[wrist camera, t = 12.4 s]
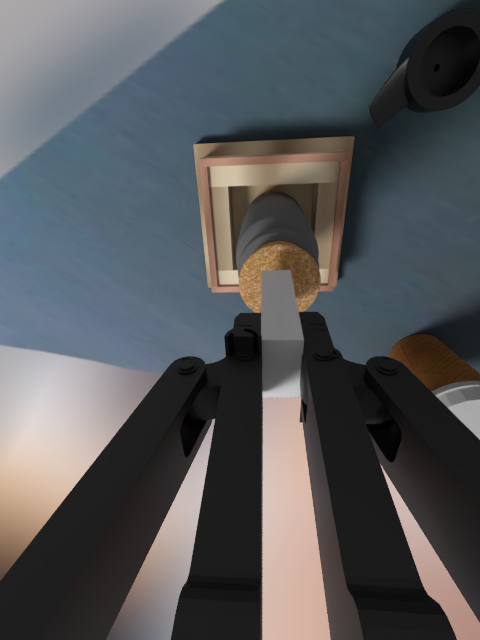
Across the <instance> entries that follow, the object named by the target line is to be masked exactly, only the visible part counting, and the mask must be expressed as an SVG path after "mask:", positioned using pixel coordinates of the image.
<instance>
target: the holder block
mask: <svg viewBox="0 0 480 640" xmlns="http://www.w3.org/2000/svg"><path fill="white" fill-rule="evenodd" d="M354 138H355V136H346V137H326V138H306V139H285V140H265V141H245V142H225V143H204V144H193V146H194V155H195V165H196V175H197V184H198V194H199V203H200V213H201V223H202V232H203V242H204V251H205V261H206V271H207V280H208V288H212V292H240V290H239V277H238V268H237V264H236V249H237V244H238V239H239V235H240V231H241V227H242V223H243V220H244V216H245V213H246V211H247V209H248V207H249V205H250V204H251V203H252V201H253V200H254V199H256V198H257V197H258V196H260V195H262V194H264V193H267V192H271V191H277V192H283V193H286V194H288V195H289V196H291V197H293V198H294V199H295V200H296V201H297V202H298V204H299V205H300V207H301V209H302V211H303V213H304V215H305V217H306V219H307V221H308V223H309V225H310V227H311V229H312V231H313V233H314V235H315V238H316V241H317V244H318V249H319V258H318V261H319V271H320V276H321V284H320V290H319V291H334V286H336V285H337V277H338V269H339V261H340V253H341V244H342V236H343V228H344V220H345V212H346V203H347V195H348V187H349V179H350V171H351V163H352V154H353V146H354Z"/></svg>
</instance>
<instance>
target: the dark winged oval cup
mask: <svg viewBox="0 0 480 640" xmlns="http://www.w3.org/2000/svg"><path fill="white" fill-rule="evenodd" d="M434 66H436V70H435V71H434ZM479 85H480V12H478V11H476V10H473V9H468V8H462V9H456V10H453V11H450V12H448V13H446V14H444V15H442V16H441V17H439V18H438V19H436V20H435V21H433V22H432V23H430V24H429V25H427V26H426V27H424V28H423V29H421V30H420V31H419V32H418V33H417V34H415V35H414V36H413V38H412V39H411V40H410V41H409V42H408V44H407V45H406V47H405V48H404V50H403V52H402V54H401V56H400V58H399V61H398V64H397V67H396V70H395V71H394V72H393V74H392V75H391V76H390V77H389V79H388V80H387V81H386V83H385V84H384V85H383V87H382V88H381V90H380V91H379V93H378V94H377V96H376V97H375V99H374V100H373V101H372V103H371V105H370V106H369V110H370V113H371V116H372V119H373V121H374V123H375V125H376V127H377V128H378V127H380V126H381V125H382V124H383V123H384V122H385V121H387V120H388V119H389V118H390V117H392V116H393V115H394V114H396V113H397V112H399V111H400V110H402V109H403V108H405V107H407V108H408V109H410V110H412V111H415V112H431V111H438V110H445V109H448V108H451V107H454V106H456V105H458V104H460V103H461V102H463V101H464V100H465V99H467V98H468V97H469V96H470V95H471V94H472V93H473V92H474V91H475V90H476V89H477V88H478V86H479Z"/></svg>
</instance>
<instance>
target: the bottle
mask: <svg viewBox="0 0 480 640" xmlns="http://www.w3.org/2000/svg"><path fill="white" fill-rule="evenodd" d="M318 258H319V249H318V244H317V241H316V238H315V235H314V233H313V231H312V229H311V227H310V225H309V223H308V221H307V219H306V217H305V215H304V213H303V211H302V209H301V207H300V205H299V204H298V202H297V201H296V200H295V199H294V198H293V197H291V196H289V195H288V194H286V193H283V192H277V191H271V192H267V193H264V194H262V195H260V196H258V197H257V198H256V199H254V200H253V201H252V203H251V204H250V205H249V207H248V209H247V211H246V213H245V216H244V220H243V223H242V227H241V231H240V235H239V239H238V244H237V249H236V264H237V268H238V277H239V290H240V294H241V296H242V298H243V300H244V302H245V303H246V304H247V306H248V307H249V308H250V309H252V310H253V311H254V312H255V313H261V298H262V270H290V271H291V276H292V281H293V286H294V291H295V296H296V301H297V306H298V312H303V311H305V310H306V309H307V308H308V307H309V306H310V305H311V304H312V303H313V302H314V300H315V299H316V297H317V295H318V293H319V290H320V284H321V276H320V271H319V261H318Z"/></svg>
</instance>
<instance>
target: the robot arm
mask: <svg viewBox="0 0 480 640" xmlns="http://www.w3.org/2000/svg"><path fill="white" fill-rule="evenodd" d="M225 349H226V357H225V358H224V359H222V360H220V361H218V362H215V363H211V364H206V365H205V362H204V361H203V360H202V359H201V358H197V357H190V356H188V357H183V358H180V359H178V360H175V361H174V362H173V363H172V364H171V365H170V366H169V367H168V368H167V370H166V371H165V372H164V373H163V375H162V376H161V377H160V379H159V380H158V381H157V382H156V384H155V385H154V386H153V387H152V389H151V390H150V391H149V393H148V394H147V395H146V396H145V398H144V399H143V400H142V401H141V403H140V404H139V405H138V407H137V408H136V409H135V410H134V412H133V413H132V414H131V415H130V417H129V418H128V419H127V421H126V422H125V423H124V424H123V426H122V427H121V428H120V429H119V431H118V432H117V433H116V435H115V436H114V437H113V438H112V440H111V441H110V442H109V444H108V445H107V446H106V447H105V449H104V450H103V451H102V452H101V454H100V455H99V456H98V458H97V459H96V460H95V461H94V463H93V464H92V465H91V466H90V468H89V469H88V470H87V472H86V473H85V474H84V475H83V477H82V478H81V479H80V480H79V482H78V483H77V484H76V486H75V487H74V488H73V489H72V491H71V492H70V493H69V494H68V496H67V497H66V498H65V499H64V501H63V502H62V504H61V505H60V506H59V507H58V508H57V510H56V511H55V512H54V513H53V515H52V516H51V518H50V519H49V520H48V521H47V523H46V524H45V525H44V526H43V527H42V529H41V530H40V531H39V533H38V534H37V535H36V536H35V538H34V539H33V540H32V542H31V543H30V544H29V545H28V547H27V548H26V549H25V551H24V552H23V553H22V554H21V556H20V557H19V558H18V559H17V561H16V562H15V563H14V564H13V566H12V567H11V568H10V570H9V571H8V572H7V573H6V575H5V576H4V577H3V579H2V580H1V581H0V640H106V638H107V636H108V634H109V632H110V630H111V628H112V626H113V624H114V622H115V620H116V618H117V616H118V613H119V611H120V609H121V607H122V605H123V603H124V601H125V599H126V597H127V595H128V593H129V591H130V589H131V587H132V585H133V583H134V581H135V579H136V577H137V574H138V573H139V570H140V568H141V566H142V564H143V562H144V560H145V558H146V556H147V554H148V552H149V550H150V548H151V546H152V544H153V542H154V540H155V538H156V536H157V533H158V531H159V530H160V527H161V525H162V523H163V521H164V519H165V517H166V515H167V513H168V511H169V509H170V507H171V505H172V503H173V501H174V499H175V497H176V494H177V493H178V490H179V488H180V487H181V484H182V482H183V480H184V478H185V476H186V474H187V472H188V470H189V468H190V466H191V464H192V462H193V460H194V458H195V456H196V454H197V452H198V450H199V448H200V446H201V443H202V441H203V439H204V437H205V435H206V433H207V431H208V429H209V427H210V425H211V422H212V419H215V425H214V430H213V436H212V442H211V448H210V455H209V460H208V466H207V472H206V478H205V484H204V490H203V496H202V502H201V508H200V514H199V519H198V526H197V531H196V537H195V543H194V549H193V555H192V561H191V567H190V572H189V576H188V580H187V582H186V583H185V584H184V586H183V588H182V590H181V593H180V596H179V600H178V606H177V610H176V614H175V620H174V625H173V631H172V636H171V640H262V442H263V434H262V432H263V428H262V425H263V424H262V423H263V422H262V421H263V418H262V417H263V412H262V410H263V407H262V404H263V403H262V397H276V398H279V397H280V398H300V390H301V397H302V398H301V413H300V422H303V429H304V437H305V444H306V452H307V460H308V467H309V475H310V483H311V490H312V497H313V506H314V513H315V521H316V528H317V536H318V544H319V551H320V559H321V566H322V574H323V582H324V589H325V597H326V605H327V613H328V620H329V628H330V637H331V640H457V639H456V636H455V633H454V631H453V629H452V627H451V624H450V622H449V620H448V618H447V616H446V614H445V612H444V611H443V610H442V608H441V606H440V605H439V604H438V603H437V602H436V601H435V600H433V599H432V598H431V597H430V596H428V594H427V593H426V591H425V589H424V587H423V585H422V582H421V580H420V577H419V574H418V571H417V568H416V565H415V563H414V560H413V557H412V554H411V551H410V548H409V546H408V542H407V540H406V537H405V534H404V531H403V528H402V526H401V522H400V520H399V517H398V514H397V511H396V508H395V505H394V502H393V500H392V497H391V494H390V491H389V488H388V485H387V482H386V479H385V477H384V474H383V472H382V468H381V465H382V466H383V469H384V470H385V472H386V473H387V475H388V477H389V478H390V480H391V481H392V483H393V485H394V486H395V488H396V489H397V491H398V492H399V494H400V496H401V497H402V499H403V501H404V502H405V504H406V505H407V507H408V509H409V510H410V512H411V513H412V515H413V516H414V518H415V520H416V521H417V523H418V524H419V526H420V528H421V529H422V531H423V532H424V534H425V536H426V537H427V539H428V540H429V542H430V544H431V545H432V547H433V549H434V550H435V552H436V553H437V555H438V556H439V558H440V560H441V561H442V563H443V564H444V566H445V568H446V569H447V570H448V572H449V574H450V576H451V577H452V579H453V580H454V582H455V584H456V585H457V587H458V588H459V590H460V592H461V593H462V595H463V596H464V598H465V600H466V601H467V603H468V604H469V606H470V608H471V609H472V611H473V612H474V614H475V615H476V617H477V619H478V620H479V622H480V439H479V438H478V437H477V436H476V435H475V434H474V433H473V432H472V431H471V430H470V429H469V428H467V427H466V426H465V425H464V424H463V423H462V422H461V421H460V420H459V419H458V418H457V417H456V416H455V415H454V414H453V413H452V412H451V411H450V410H449V409H448V408H447V407H446V406H445V405H444V404H443V403H442V402H441V401H440V400H439V399H438V398H437V397H436V396H435V395H434V394H433V393H432V392H431V391H430V390H429V389H428V388H427V387H426V386H425V385H424V384H423V383H422V382H421V381H420V380H419V379H418V378H417V377H416V376H415V375H414V374H413V373H412V372H411V371H410V370H409V369H408V368H407V367H406V366H405V365H404V364H402V363H401V362H400V361H398V360H395V359H393V358H389V357H384V356H378V357H373V358H370V359H369V360H368V361H367V363H366V365H362V364H357V363H353V362H350V361H347V360H345V359H343V356H342V355H341V353H340V352H339V351H338V350H337V349H335V348H334V346H333V343H332V340H331V337H330V334H329V331H328V328H327V325H326V322H325V319H324V317H323V316H322V315H321V314H319V313H318V312H298V306H297V301H296V296H295V291H294V286H293V281H292V276H291V271H290V270H262V298H261V313H240V314H239V315H238V316H237V317H236V318H235V320H234V327H233V329H231V330H230V331H228V332H227V333H226V335H225ZM380 464H381V465H380Z"/></svg>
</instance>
